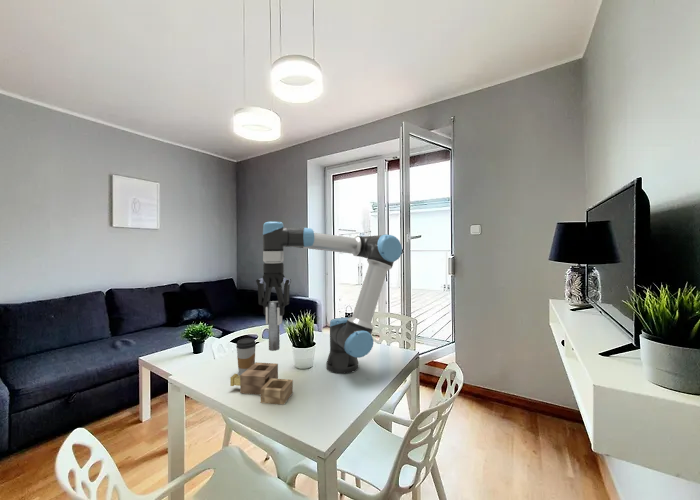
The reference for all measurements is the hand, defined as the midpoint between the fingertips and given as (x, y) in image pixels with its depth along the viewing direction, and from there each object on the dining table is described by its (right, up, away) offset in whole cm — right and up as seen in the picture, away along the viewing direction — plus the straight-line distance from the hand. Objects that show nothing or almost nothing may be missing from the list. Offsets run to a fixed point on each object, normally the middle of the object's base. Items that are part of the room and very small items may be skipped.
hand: (274, 323), depth 112 cm
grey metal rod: (0, -10, 0) cm, 10 cm away
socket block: (-8, -28, +8) cm, 30 cm away
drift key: (-11, -25, +4) cm, 28 cm away
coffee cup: (-17, -28, +20) cm, 38 cm away
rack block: (+1, -28, -1) cm, 28 cm away
